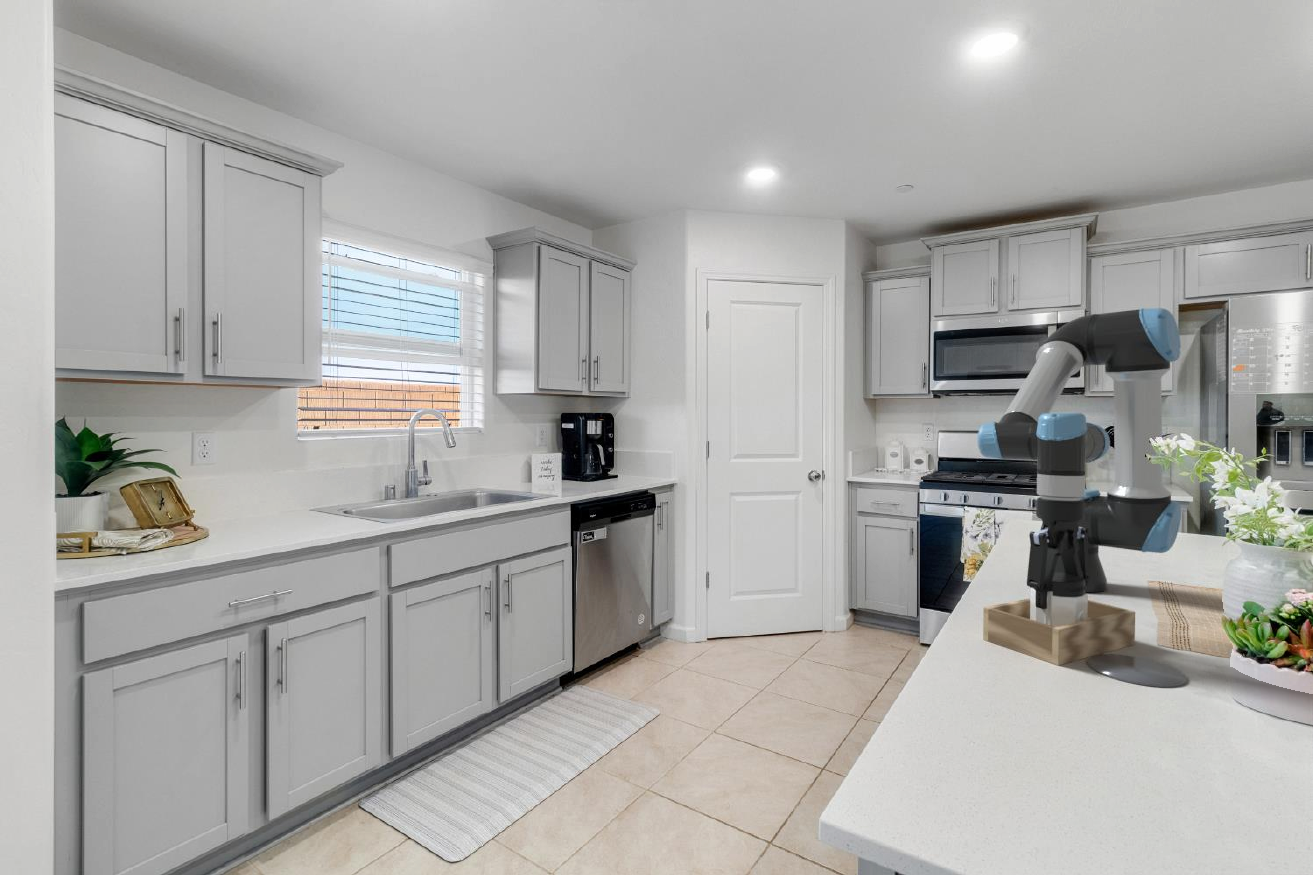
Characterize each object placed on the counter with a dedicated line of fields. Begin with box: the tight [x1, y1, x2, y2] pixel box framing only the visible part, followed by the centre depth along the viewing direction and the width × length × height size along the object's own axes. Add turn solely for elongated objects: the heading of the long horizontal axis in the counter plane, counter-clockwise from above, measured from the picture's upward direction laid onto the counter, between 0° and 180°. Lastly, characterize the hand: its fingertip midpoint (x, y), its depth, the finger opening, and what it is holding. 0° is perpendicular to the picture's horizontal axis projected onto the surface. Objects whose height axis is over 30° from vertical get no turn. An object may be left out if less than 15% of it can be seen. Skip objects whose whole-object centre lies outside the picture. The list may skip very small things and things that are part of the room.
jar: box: [1029, 572, 1089, 627], centre depth 119 cm, size 9×8×12 cm
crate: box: [982, 598, 1136, 666], centre depth 119 cm, size 22×14×6 cm, turn 116°
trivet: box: [1087, 653, 1188, 688], centre depth 106 cm, size 13×13×1 cm
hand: (1058, 622), depth 119 cm, fingers closed on jar, 7 cm apart
